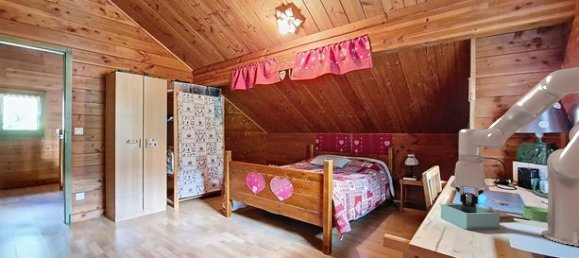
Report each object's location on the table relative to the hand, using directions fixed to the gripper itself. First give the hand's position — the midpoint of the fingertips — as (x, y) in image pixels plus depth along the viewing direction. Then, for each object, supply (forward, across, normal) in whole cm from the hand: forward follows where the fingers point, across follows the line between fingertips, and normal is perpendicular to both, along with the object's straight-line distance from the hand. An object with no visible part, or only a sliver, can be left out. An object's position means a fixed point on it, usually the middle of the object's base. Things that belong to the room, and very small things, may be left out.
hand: (468, 204), depth 110 cm
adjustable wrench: (+8, -18, -47) cm, 51 cm away
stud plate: (+8, -6, -16) cm, 19 cm away
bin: (+8, 0, 0) cm, 8 cm away
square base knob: (+5, 0, 0) cm, 5 cm away
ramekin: (+8, -22, -27) cm, 36 cm away
